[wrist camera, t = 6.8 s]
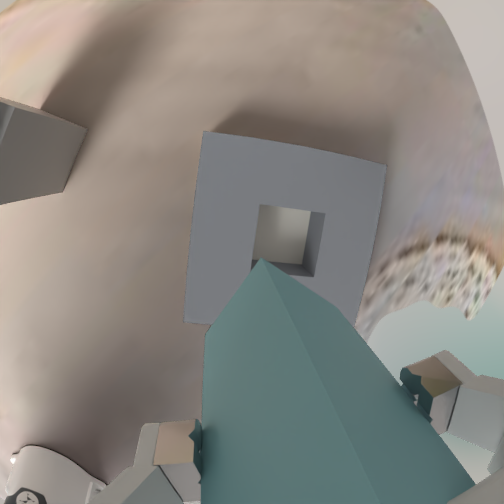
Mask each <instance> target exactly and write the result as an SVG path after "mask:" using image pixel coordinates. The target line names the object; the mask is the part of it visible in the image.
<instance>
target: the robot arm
mask: <svg viewBox="0 0 504 504" xmlns="http://www.w3.org/2000/svg"><path fill="white" fill-rule="evenodd" d="M400 380H401V381H402V382H403V385H402V386H401V387H402V388H403V390H404V391H405V392H406V393H407V395H408V396H409V397H410V398H411V400H412V401H413V402H414V404H415V405H416V406H417V407H418V409H419V410H420V411H421V412H422V414H423V415H424V416H425V418H426V419H427V420H428V422H429V423H430V424H431V425H432V427H433V428H434V429H435V431H436V432H437V433H438V434H439V435H440V434H442V433H444V432H446V431H447V432H448V433H450V434H452V435H454V436H457V437H459V438H461V439H463V440H465V441H468V442H470V443H472V444H475V445H477V446H479V447H482V448H484V449H487V450H489V451H491V452H494V453H495V454H494V456H493V458H492V459H491V461H490V463H489V465H488V468H487V469H488V471H489V472H490V473H491V475H490V476H489V477H487V478H486V479H484V480H483V481H481V482H479V483H478V484H476V485H475V486H473V487H471V488H470V489H468V490H467V491H465V492H463V493H462V494H460V495H458V496H456V497H455V498H453V499H451V500H449V501H448V502H447V504H504V380H503V379H498V378H493V377H489V376H484V375H480V376H478V377H477V376H476V375H475V374H474V373H473V372H471V371H470V370H469V369H468V368H467V367H466V366H465V365H464V364H463V363H461V362H460V361H459V360H458V359H457V358H456V357H454V355H452V354H451V353H450V352H449V351H446V350H444V351H442V352H439V353H437V354H435V355H432V356H431V357H428V358H426V359H423V360H421V361H418V362H416V363H414V364H411V365H408V366H406V367H403V368H402V370H401V373H400ZM201 447H202V427H201V424H200V422H199V420H197V419H191V420H181V421H169V422H162V423H145V424H144V425H143V426H142V429H141V433H140V437H139V442H138V446H137V451H136V455H135V460H134V464H133V466H128V467H127V468H126V469H125V470H124V471H123V472H122V473H121V474H119V475H118V476H117V477H116V478H115V479H114V480H113V481H112V482H111V483H110V484H109V485H107V486H106V484H105V483H103V482H102V481H100V480H98V479H96V478H94V477H92V476H91V475H89V474H88V473H87V472H85V471H84V470H83V469H82V468H81V467H79V466H78V465H77V464H75V463H74V462H72V461H71V460H69V459H68V458H66V457H64V456H62V455H60V454H58V453H56V452H54V451H51V450H49V449H46V448H43V447H38V446H25V447H23V448H22V449H21V450H20V452H19V453H18V454H13V455H12V456H11V462H12V463H13V467H12V470H11V472H10V475H9V478H8V481H7V484H6V488H5V489H6V492H7V494H8V495H9V496H7V497H6V500H5V502H4V503H3V504H184V503H183V502H189V501H200V500H201V478H202V457H201Z"/></svg>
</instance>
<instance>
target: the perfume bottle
mask: <svg viewBox="0 0 504 504" xmlns="http://www.w3.org/2000/svg"><path fill="white" fill-rule="evenodd" d="M87 131H88V129H86V128H84V127H82V126H79V125H77V124H74V123H72V122H70V121H67V120H65V119H62V118H60V117H57V116H55V115H52V114H50V113H47V112H45V111H42V110H40V109H37V108H34V107H31V106H27V105H24V104H21V103H18V102H14V101H11V100H8V99H4V98H1V97H0V205H2V204H6V203H11V202H15V201H20V200H25V199H30V198H35V197H40V196H45V195H50V194H56V193H61V192H63V189H64V187H65V184H66V181H67V179H68V176H69V173H70V171H71V168H72V166H73V163H74V161H75V158H76V156H77V154H78V151H79V149H80V147H81V144H82V142H83V140H84V137H85V135H86V133H87Z"/></svg>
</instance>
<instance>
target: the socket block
mask: <svg viewBox="0 0 504 504" xmlns="http://www.w3.org/2000/svg"><path fill="white" fill-rule="evenodd" d="M386 170H387V165H384V164H380V163H377V162H373V161H369V160H364V159H360V158H356V157H352V156H348V155H343V154H339V153H334V152H329V151H325V150H320V149H315V148H310V147H305V146H300V145H294V144H289V143H283V142H277V141H271V140H265V139H259V138H252V137H245V136H238V135H231V134H223V133H215V132H207V131H203V138H202V145H201V152H200V159H199V167H198V174H197V182H196V190H195V198H194V207H193V216H192V225H191V234H190V244H189V255H188V266H187V277H186V290H185V303H184V317H183V322H187V323H197V324H207V325H212V324H213V323H214V322H215V320H216V319H217V317H218V316H219V315H220V313H221V312H222V311H223V309H224V308H225V306H226V305H227V304H228V302H229V301H230V300H231V298H232V297H233V295H234V294H235V293H236V291H237V290H238V288H239V287H240V286H241V284H242V283H243V281H244V280H245V279H246V277H247V276H248V275H249V273H250V272H251V270H252V269H253V268H254V266H255V265H256V263H257V262H258V261H259V259H260V258H261V257H262V258H263V259H265V260H266V261H268V262H269V263H271V264H272V265H274V266H275V267H277V268H278V269H280V270H281V271H283V272H284V273H286V274H287V275H289V276H290V277H292V278H293V279H295V280H296V281H298V282H299V283H301V284H302V285H304V286H305V287H307V288H309V289H310V290H312V291H313V292H315V293H316V294H318V295H319V296H321V297H322V298H324V299H325V300H327V301H328V302H330V303H331V304H333V305H334V306H336V307H337V308H338V309H339V311H340V312H341V313H342V314H343V316H344V317H345V318H346V319H347V320H348V322H349V323H350V324H351V325H352V326H353V328H354V325H355V322H356V318H357V314H358V310H359V306H360V303H361V299H362V295H363V290H364V286H365V282H366V278H367V274H368V269H369V265H370V260H371V255H372V251H373V246H374V241H375V236H376V231H377V225H378V220H379V214H380V209H381V203H382V197H383V190H384V184H385V177H386Z"/></svg>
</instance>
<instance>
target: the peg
mask: <svg viewBox="0 0 504 504" xmlns="http://www.w3.org/2000/svg"><path fill="white" fill-rule="evenodd" d="M201 457H202V478H201V504H447V502H448V501H449V500H451V499H453V498H455V497H456V496H458V495H460V494H462V493H463V492H465V491H467V490H468V489H470V488H471V487H473V486H475V485H476V484H475V483H474V481H473V480H472V478H471V477H470V476H469V474H468V473H467V472H466V470H465V469H464V468H463V466H462V465H461V464H460V462H459V461H458V460H457V458H456V457H455V456H454V454H453V453H452V452H451V450H450V449H449V448H448V446H447V445H446V444H445V443H444V441H443V440H442V438H441V437H440V436H439V434H438V433H437V432H436V431H435V429H434V428H433V427H432V425H431V424H430V423H429V422H428V420H427V419H426V418H425V416H424V415H423V414H422V412H421V411H420V410H419V409H418V407H417V406H416V405H415V404H414V402H413V401H412V400H411V398H410V397H409V396H408V395H407V393H406V392H405V391H404V390H403V388H402V387H401V386H400V385H399V383H398V382H397V381H396V380H395V378H394V377H393V376H392V375H391V373H390V372H389V371H388V370H387V368H386V367H385V366H384V365H383V363H382V362H381V361H380V360H379V358H378V357H377V356H376V355H375V353H374V352H373V351H372V350H371V348H370V347H369V346H368V345H367V343H366V342H365V341H364V340H363V339H362V337H361V336H360V335H359V334H358V332H357V331H356V330H355V329H354V328H353V326H352V325H351V324H350V323H349V322H348V320H347V319H346V318H345V317H344V316H343V314H342V313H341V312H340V311H339V309H338V308H337V307H336V306H334V305H333V304H331V303H330V302H328V301H327V300H325V299H324V298H322V297H321V296H319V295H318V294H316V293H315V292H313V291H312V290H310V289H309V288H307V287H305V286H304V285H302V284H301V283H299V282H298V281H296V280H295V279H293V278H292V277H290V276H289V275H287V274H286V273H284V272H283V271H281V270H280V269H278V268H277V267H275V266H274V265H272V264H271V263H269V262H268V261H266V260H265V259H263V258H262V257H261V258H260V259H259V261H258V262H257V263H256V265H255V266H254V268H253V269H252V270H251V272H250V273H249V275H248V276H247V277H246V279H245V280H244V281H243V283H242V284H241V286H240V287H239V288H238V290H237V291H236V293H235V294H234V295H233V297H232V298H231V300H230V301H229V302H228V304H227V305H226V306H225V308H224V309H223V311H222V312H221V313H220V315H219V316H218V317H217V319H216V320H215V322H214V323H213V324H212V326H211V327H210V328H209V330H208V331H207V333H206V334H205V347H204V368H203V394H202V447H201Z"/></svg>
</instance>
